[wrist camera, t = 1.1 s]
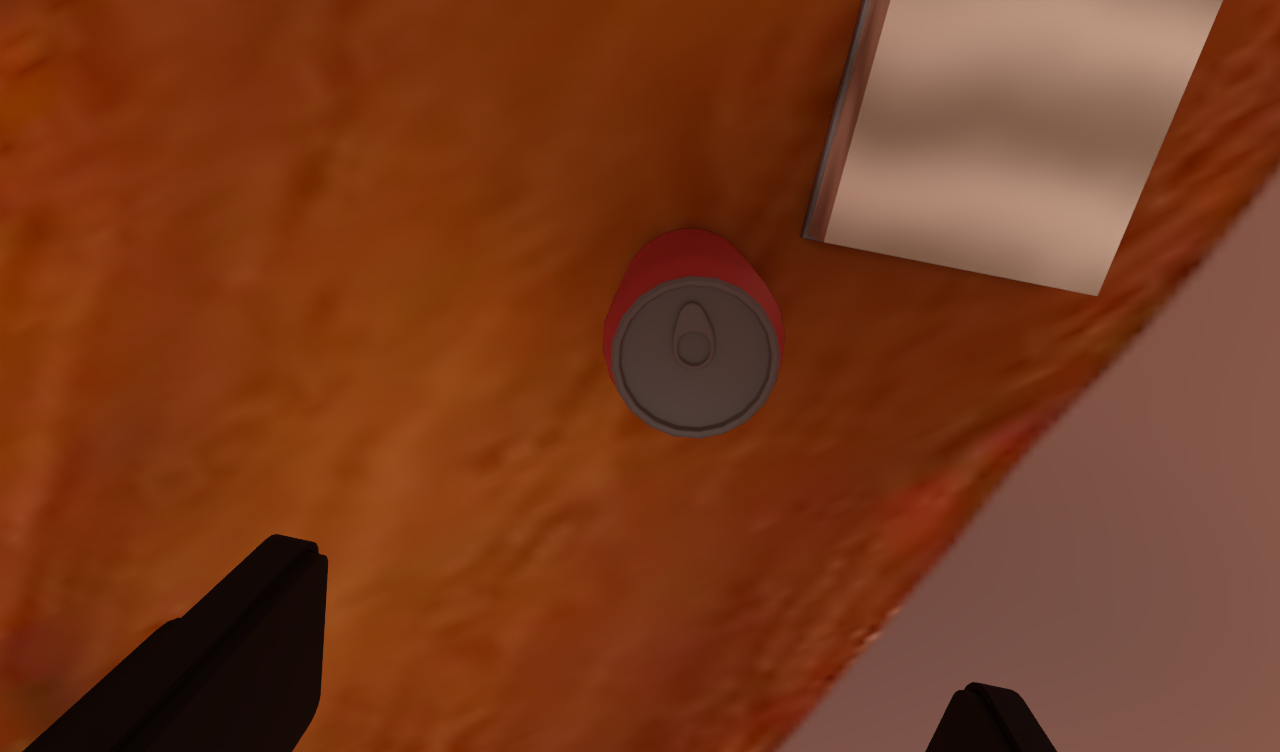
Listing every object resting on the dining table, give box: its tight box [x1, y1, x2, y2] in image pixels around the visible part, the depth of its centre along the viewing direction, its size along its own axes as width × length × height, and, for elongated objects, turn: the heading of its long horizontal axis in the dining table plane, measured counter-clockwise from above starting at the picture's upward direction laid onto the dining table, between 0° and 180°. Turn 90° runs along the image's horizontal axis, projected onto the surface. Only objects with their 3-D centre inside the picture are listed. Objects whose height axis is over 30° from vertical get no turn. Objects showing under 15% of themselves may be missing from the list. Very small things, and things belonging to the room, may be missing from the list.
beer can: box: [603, 228, 785, 438], centre depth 26 cm, size 7×7×12 cm
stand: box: [800, 0, 1223, 296], centre depth 27 cm, size 12×12×4 cm
